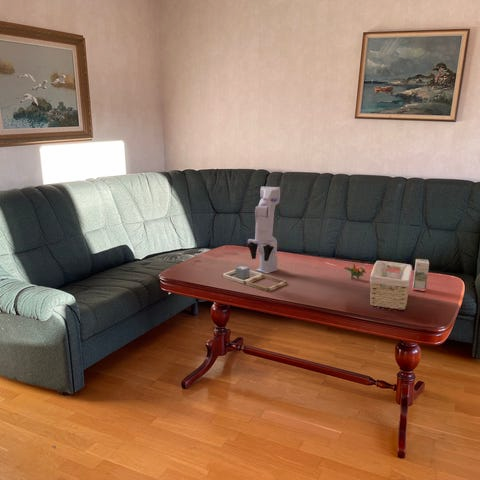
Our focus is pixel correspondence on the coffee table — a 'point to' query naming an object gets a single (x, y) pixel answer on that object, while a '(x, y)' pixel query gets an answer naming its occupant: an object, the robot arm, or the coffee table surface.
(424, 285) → the syrup box
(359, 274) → the figurine
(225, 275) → the cream square frame
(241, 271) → the letter cube
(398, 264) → the storage basket
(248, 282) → the brown wooden frame
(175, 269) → the coffee table surface
